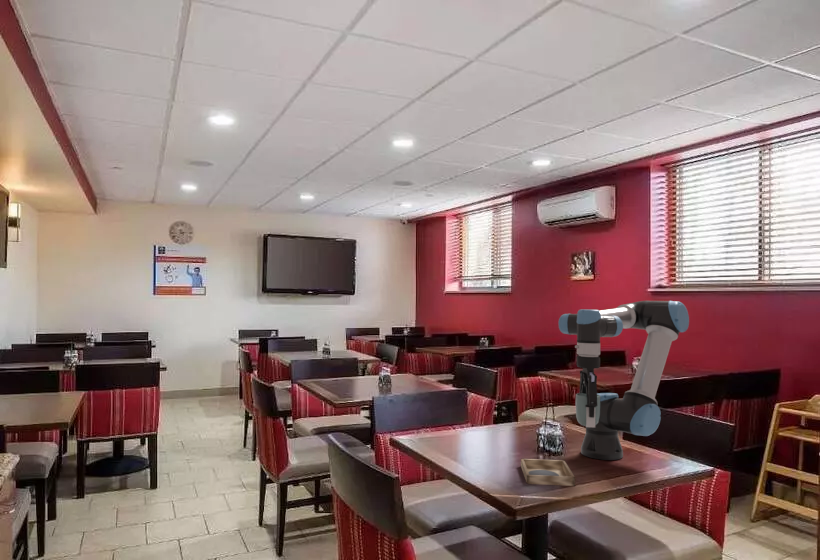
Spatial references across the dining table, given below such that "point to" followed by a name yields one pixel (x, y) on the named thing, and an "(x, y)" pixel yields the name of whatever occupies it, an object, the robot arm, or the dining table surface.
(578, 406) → the cup
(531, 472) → the pad
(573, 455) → the dining table surface
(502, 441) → the dining table surface
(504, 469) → the dining table surface
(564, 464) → the wooden tray
